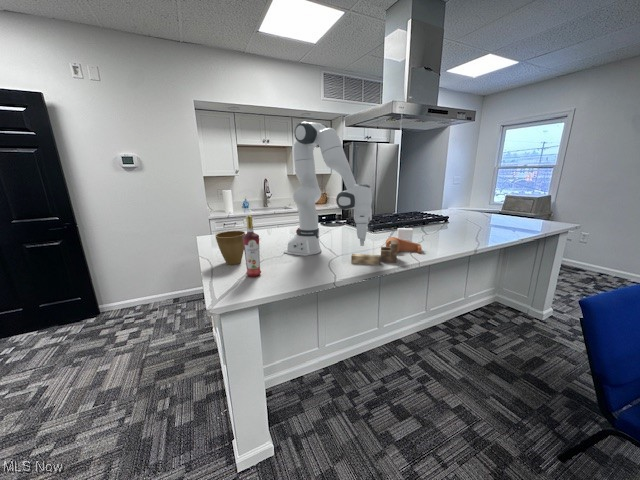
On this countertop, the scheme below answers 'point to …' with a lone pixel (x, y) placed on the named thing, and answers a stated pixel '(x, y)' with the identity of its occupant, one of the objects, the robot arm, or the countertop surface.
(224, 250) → the plant pot
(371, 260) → the rail
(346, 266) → the countertop surface
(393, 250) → the wooden u-shaped bracket
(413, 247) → the crank
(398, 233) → the white piece
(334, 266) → the countertop surface
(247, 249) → the liquor
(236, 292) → the countertop surface
